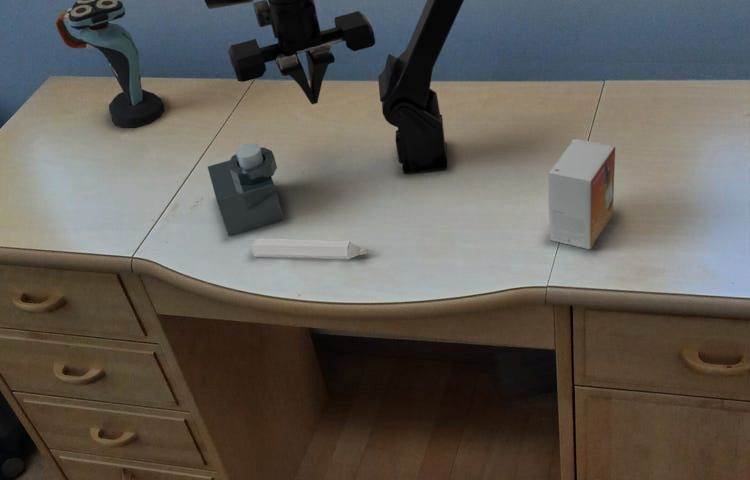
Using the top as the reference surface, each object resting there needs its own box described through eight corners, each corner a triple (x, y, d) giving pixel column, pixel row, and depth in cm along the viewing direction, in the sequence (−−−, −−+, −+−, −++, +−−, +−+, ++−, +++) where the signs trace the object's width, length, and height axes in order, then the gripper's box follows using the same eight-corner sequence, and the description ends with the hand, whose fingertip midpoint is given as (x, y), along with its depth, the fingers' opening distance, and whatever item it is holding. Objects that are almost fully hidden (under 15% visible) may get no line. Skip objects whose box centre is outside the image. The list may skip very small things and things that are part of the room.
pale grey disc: (261, 152, 128) (257, 140, 127) (265, 165, 126) (262, 152, 124) (237, 159, 128) (233, 147, 127) (241, 172, 125) (237, 159, 124)
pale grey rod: (372, 262, 121) (257, 258, 125) (374, 247, 121) (259, 243, 125) (367, 255, 118) (250, 251, 122) (369, 240, 119) (252, 236, 123)
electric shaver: (159, 124, 153) (118, 11, 140) (91, 133, 155) (44, 21, 141) (169, 96, 160) (130, -15, 146) (104, 104, 161) (59, -5, 148)
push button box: (279, 184, 136) (267, 137, 130) (292, 218, 129) (279, 170, 124) (219, 201, 135) (203, 155, 129) (228, 236, 128) (213, 190, 123)
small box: (590, 251, 115) (591, 182, 108) (548, 240, 118) (546, 172, 110) (614, 214, 120) (616, 145, 112) (573, 204, 122) (573, 136, 115)
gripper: (344, -47, 124) (363, 59, 134) (208, -11, 122) (238, 94, 132) (366, -16, 116) (384, 94, 126) (221, 23, 114) (252, 132, 124)
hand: (313, 102), depth 127 cm, fingers closed
